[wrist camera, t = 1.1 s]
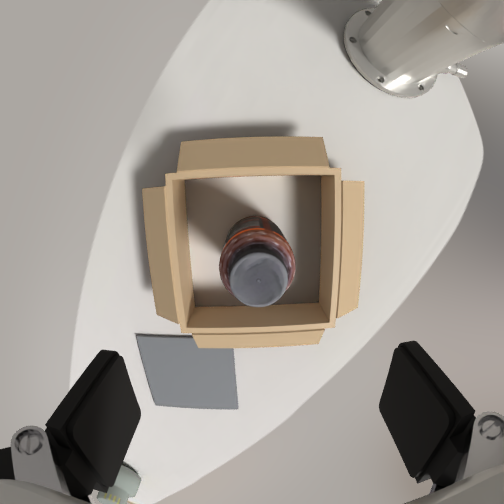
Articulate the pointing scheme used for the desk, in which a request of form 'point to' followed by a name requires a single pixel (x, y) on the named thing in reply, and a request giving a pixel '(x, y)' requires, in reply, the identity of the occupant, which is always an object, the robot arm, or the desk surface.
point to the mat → (188, 373)
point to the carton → (247, 317)
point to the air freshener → (121, 487)
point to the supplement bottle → (256, 262)
